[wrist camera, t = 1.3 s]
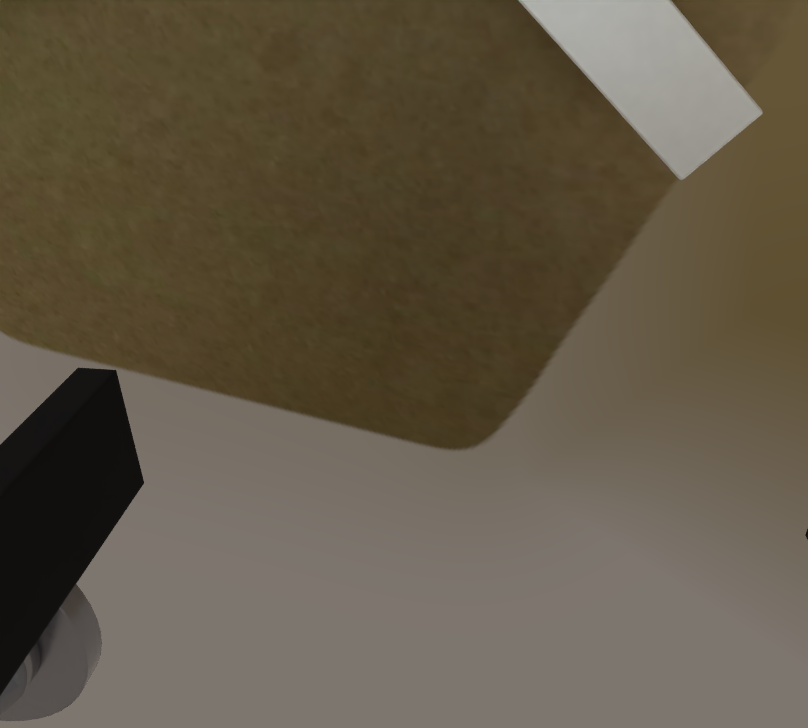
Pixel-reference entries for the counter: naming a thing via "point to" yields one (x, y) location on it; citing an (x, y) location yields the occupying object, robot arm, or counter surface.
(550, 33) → the cream book
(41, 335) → the counter surface
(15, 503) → the robot arm
